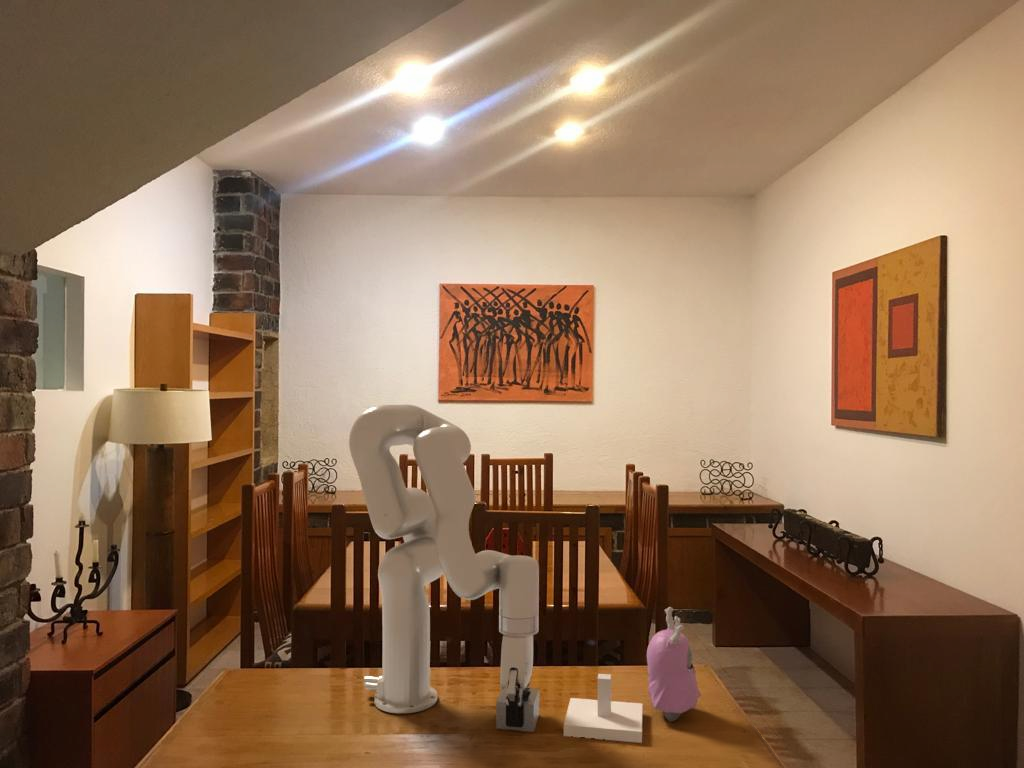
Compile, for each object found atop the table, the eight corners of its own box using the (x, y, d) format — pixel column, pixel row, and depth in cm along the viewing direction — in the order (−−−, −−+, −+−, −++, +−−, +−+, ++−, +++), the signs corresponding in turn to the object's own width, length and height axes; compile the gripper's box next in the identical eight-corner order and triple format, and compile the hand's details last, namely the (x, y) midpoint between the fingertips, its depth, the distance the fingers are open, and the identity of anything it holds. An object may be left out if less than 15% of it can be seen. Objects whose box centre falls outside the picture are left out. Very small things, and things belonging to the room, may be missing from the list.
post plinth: (563, 736, 133) (563, 686, 133) (570, 708, 145) (570, 662, 145) (641, 742, 130) (641, 692, 130) (642, 713, 142) (642, 667, 142)
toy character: (702, 731, 135) (702, 622, 135) (646, 725, 137) (646, 618, 137) (699, 703, 147) (699, 603, 147) (647, 699, 149) (647, 600, 149)
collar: (496, 728, 136) (496, 701, 136) (503, 712, 142) (503, 686, 143) (533, 732, 134) (533, 704, 134) (538, 715, 141) (539, 689, 141)
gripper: (507, 608, 148) (507, 696, 148) (489, 636, 131) (489, 736, 131) (544, 610, 146) (544, 699, 146) (531, 639, 129) (530, 740, 129)
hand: (518, 716), depth 138 cm, fingers closed on collar, 7 cm apart
